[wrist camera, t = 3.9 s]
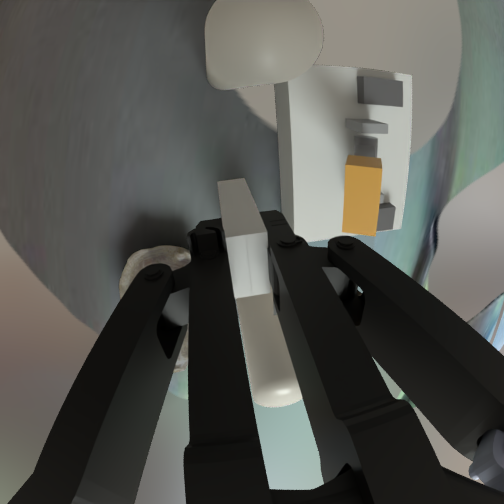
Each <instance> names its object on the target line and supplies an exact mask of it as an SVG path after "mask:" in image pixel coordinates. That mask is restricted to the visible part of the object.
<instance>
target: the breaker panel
mask: <svg viewBox="0 0 504 504" xmlns="http://www.w3.org/2000/svg"><path fill="white" fill-rule="evenodd" d="M274 88H275V103H276V117H277V133H278V149H279V168H280V188H281V211H282V214H283V215H284V217H285V218H286V220H287V222H288V224H289V225H290V227H291V229H292V230H293V232H294V234H295V235H298V236H300V237H302V238H304V239H305V240H306V242H312V241H319V240H326V239H331V238H334V237H336V236H342V235H344V236H345V235H346V236H353V235H360V234H353V233H345V232H342V222H343V206H344V185H345V164H346V161H347V158H348V155H354V136H356V135H365V136H372V137H376V138H378V151H377V158H381V161H382V182H381V193H380V203H379V213H378V221H377V229H376V232H381V231H388V230H395V229H401V224H402V218H403V211H404V204H405V197H406V189H407V180H408V170H409V159H410V144H411V126H412V75H406V74H401V73H395V72H389V71H382V70H374V69H365V68H356V67H345V66H330V65H312V67H311V68H310V69H308V70H307V71H306V72H305V73H303V74H302V75H300V76H299V77H297V78H295V79H292V80H289V81H287V82H282V83H276V84H274Z"/></svg>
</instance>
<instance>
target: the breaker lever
mask: <svg viewBox="0 0 504 504" xmlns="http://www.w3.org/2000/svg"><path fill="white" fill-rule="evenodd" d="M377 151H378V138H376V137H372V136H365V135H356V136H354V155H348V158H347V161H346V164H345V185H344V206H343V222H342V232H345V233H353V234H361V235H368V236H376V229H377V221H378V213H379V203H380V193H381V182H382V161H381V158H377Z"/></svg>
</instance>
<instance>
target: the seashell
mask: <svg viewBox="0 0 504 504" xmlns="http://www.w3.org/2000/svg"><path fill="white" fill-rule="evenodd" d="M190 262H191V255H190V251H189V250H187V249H185V248H182V247H177V246H170V245H162V246H156V247H154V248H148V249H141V250H139V251H137V252H135V253H133V254H132V255H131V256H130V257H129V259H128V260H127V264H126V265H125V267H124V270H123V272H122V276H121V278H120V280H119V291H120V300H121V298H122V297H123V295H124V294H125V292H126V290H127V289H128V287H129V286H130V284H131V282H132V281H133V279H134V278H135V276H136V275H137V273H138V272H139V271H140V270H141V269H143V268H145V267H146V266H148V265H151V264H157V263H162V264H167V265H169V266H170V267H171V269H172V271H173V270H176V269H179V268H181V267H184V266H185V265H187V264H189V263H190ZM187 365H188V329H187V332H186V335H185V338H184V341H183V344H182V347H181V350H180V353H179V356H178V359H177V362H176V365H175V368H174V371H173V373H175V372H180V371H183V370H185V369H186V367H187Z"/></svg>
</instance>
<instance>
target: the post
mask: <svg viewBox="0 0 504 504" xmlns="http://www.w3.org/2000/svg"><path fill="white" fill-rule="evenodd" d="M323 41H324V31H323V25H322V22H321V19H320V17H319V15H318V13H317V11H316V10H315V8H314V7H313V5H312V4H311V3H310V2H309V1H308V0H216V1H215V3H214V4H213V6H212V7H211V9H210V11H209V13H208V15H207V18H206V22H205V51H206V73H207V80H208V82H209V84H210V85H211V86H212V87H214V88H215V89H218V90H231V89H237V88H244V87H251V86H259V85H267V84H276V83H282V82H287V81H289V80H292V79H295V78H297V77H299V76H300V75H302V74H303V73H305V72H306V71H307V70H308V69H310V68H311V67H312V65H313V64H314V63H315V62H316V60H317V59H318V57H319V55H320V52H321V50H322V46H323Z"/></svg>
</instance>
